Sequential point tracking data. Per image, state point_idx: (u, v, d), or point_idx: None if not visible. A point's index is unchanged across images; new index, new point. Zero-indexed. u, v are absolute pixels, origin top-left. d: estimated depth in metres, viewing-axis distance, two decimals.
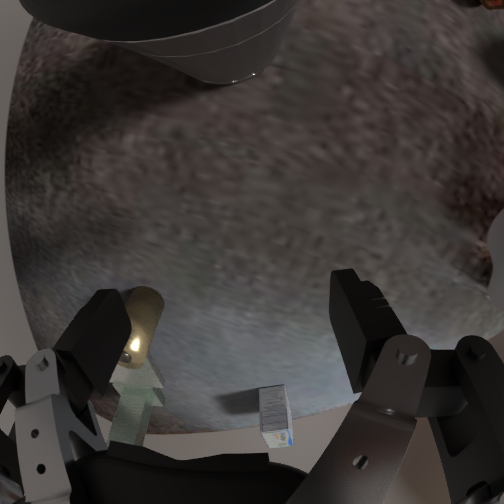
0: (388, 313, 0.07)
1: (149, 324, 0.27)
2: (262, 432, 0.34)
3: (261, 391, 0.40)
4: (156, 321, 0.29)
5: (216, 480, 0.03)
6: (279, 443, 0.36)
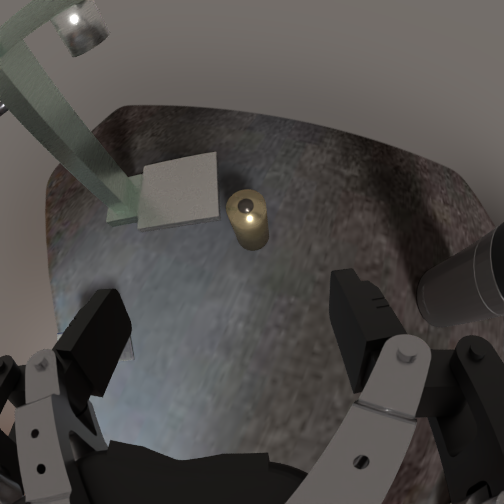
0: (388, 313, 0.07)
1: (257, 235, 0.34)
2: None
3: None
4: (250, 241, 0.36)
5: (216, 480, 0.03)
6: None
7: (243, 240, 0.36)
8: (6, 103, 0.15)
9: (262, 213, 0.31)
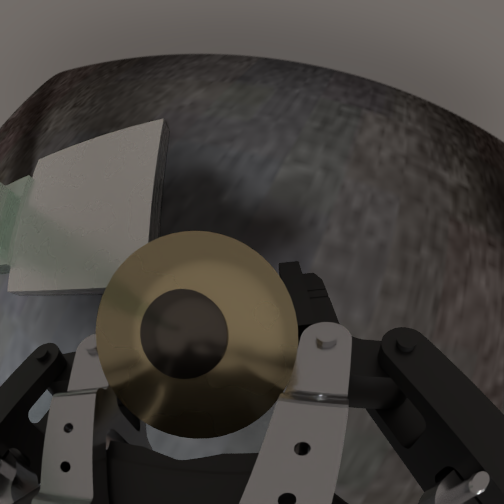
0: (325, 303, 0.08)
1: None
2: None
3: None
4: None
5: (216, 480, 0.03)
6: None
7: None
8: None
9: (277, 386, 0.05)
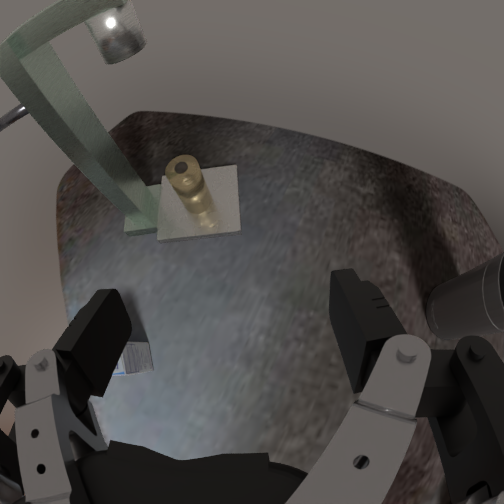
0: (388, 313, 0.07)
1: (194, 196, 0.37)
2: None
3: (147, 345, 0.36)
4: (190, 202, 0.39)
5: (216, 480, 0.03)
6: None
7: (184, 201, 0.39)
8: (28, 107, 0.16)
9: (194, 173, 0.34)
